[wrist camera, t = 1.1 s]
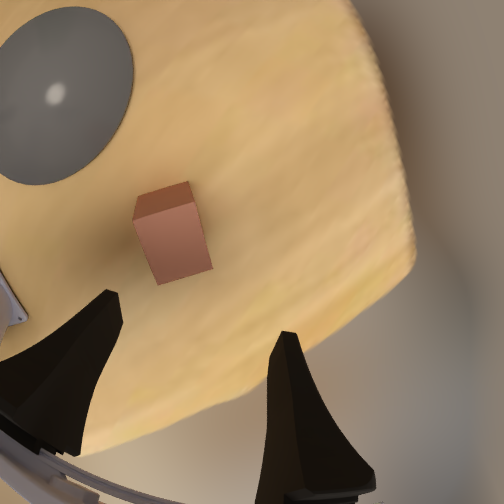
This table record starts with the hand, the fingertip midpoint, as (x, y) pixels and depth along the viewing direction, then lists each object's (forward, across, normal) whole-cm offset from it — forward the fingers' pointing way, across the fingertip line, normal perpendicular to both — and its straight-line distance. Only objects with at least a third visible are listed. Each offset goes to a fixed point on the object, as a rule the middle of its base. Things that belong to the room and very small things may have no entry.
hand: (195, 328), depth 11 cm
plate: (+9, +15, -8) cm, 19 cm away
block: (+11, +5, +2) cm, 12 cm away
